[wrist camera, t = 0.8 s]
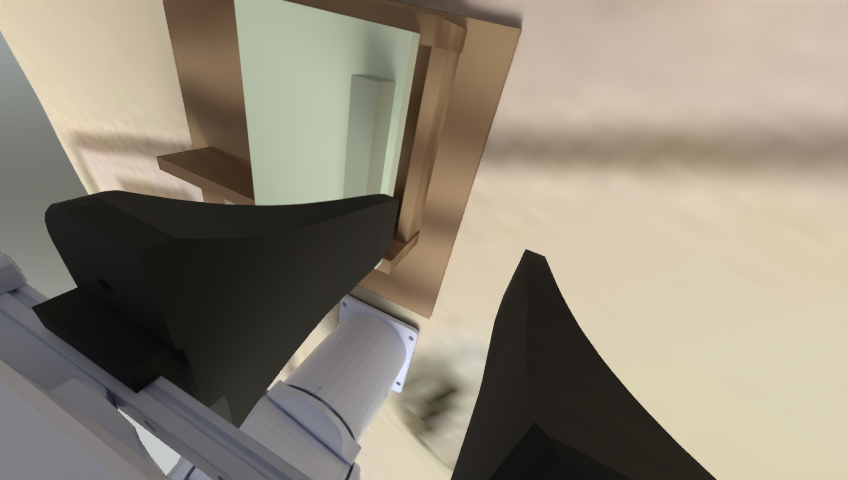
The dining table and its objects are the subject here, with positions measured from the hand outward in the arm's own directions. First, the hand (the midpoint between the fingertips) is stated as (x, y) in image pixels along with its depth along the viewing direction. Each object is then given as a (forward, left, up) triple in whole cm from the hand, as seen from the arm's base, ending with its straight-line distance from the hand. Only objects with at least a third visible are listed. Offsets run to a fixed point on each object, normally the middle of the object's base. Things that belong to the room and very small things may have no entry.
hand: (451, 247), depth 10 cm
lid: (0, +9, -4) cm, 10 cm away
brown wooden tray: (-3, +14, -9) cm, 17 cm away
